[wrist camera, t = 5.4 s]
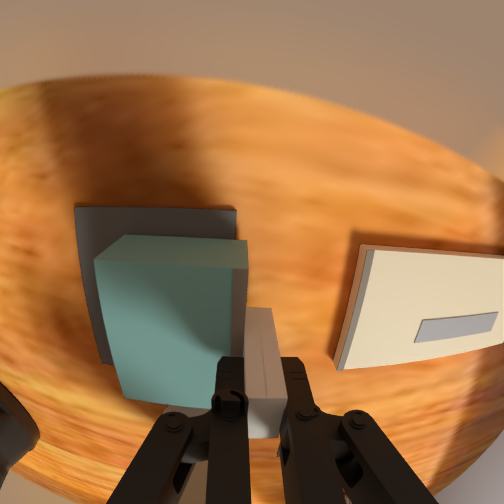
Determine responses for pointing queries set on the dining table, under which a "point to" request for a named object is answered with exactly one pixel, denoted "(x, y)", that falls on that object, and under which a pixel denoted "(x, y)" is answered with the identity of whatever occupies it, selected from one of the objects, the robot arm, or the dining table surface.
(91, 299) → the pad
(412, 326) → the slotted cream slab
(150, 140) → the dining table surface
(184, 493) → the coffee cup
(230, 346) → the teal rectangular block
